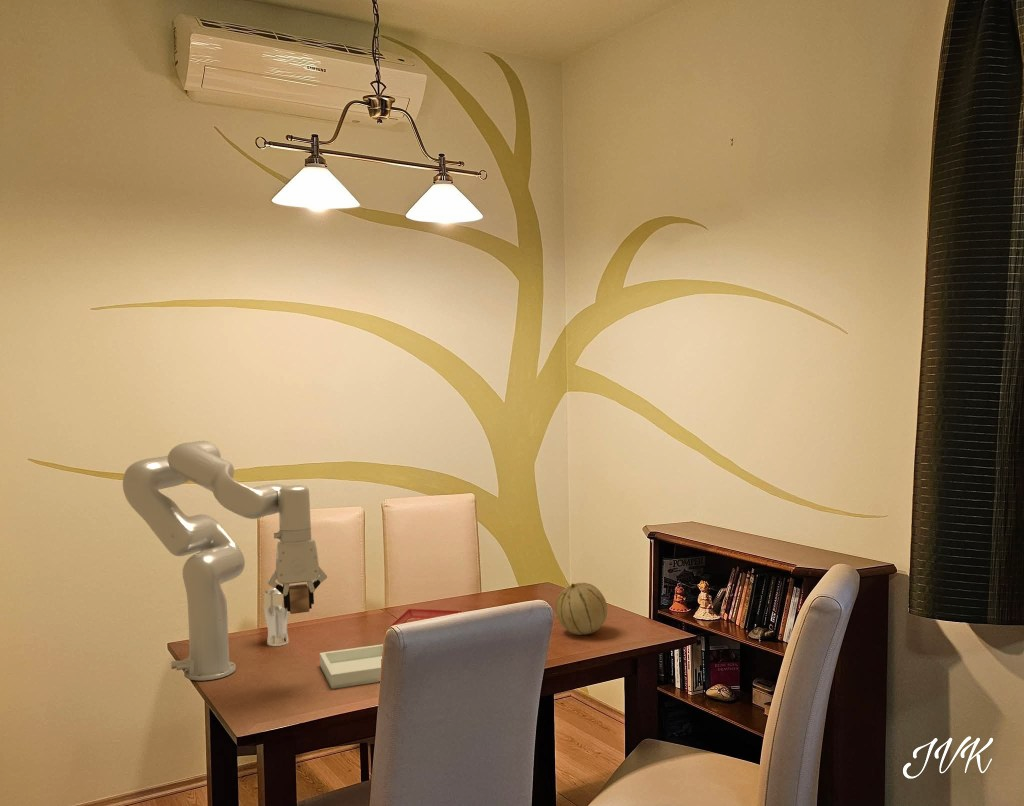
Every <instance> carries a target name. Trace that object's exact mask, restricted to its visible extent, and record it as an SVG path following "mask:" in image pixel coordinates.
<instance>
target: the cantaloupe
mask: <svg viewBox="0 0 1024 806" xmlns="http://www.w3.org/2000/svg"><path fill="white" fill-rule="evenodd" d="M555 611H556V616H557V619H558V621H559V623H560V624H561V626H562V627H563V629H565V630H566V631H567V632H569V633H571V634H573V635H579V636H584V635H589V634H593V633H595V632H597V631H598V630H599V629H600V628H601V627H602V626H603V625H604V623H605V621H606V620H607V615H608V603H607V600H606V599H605V597H604V595H603V593H602V592H601V591H600V590H599V588H597V587H596V586H595V585H593V584H592V583H588V582H576V583H571V584H570V585H568V586H566V587H565V588H564V589H563V590H561V592H560V593H559V595H558V596H557V599H556V603H555Z"/></svg>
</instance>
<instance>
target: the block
mask: <svg viewBox="0 0 1024 806" xmlns="http://www.w3.org/2000/svg"><path fill="white" fill-rule="evenodd" d="M288 592H289V596H290V611H289V614H290V615H294V614H302V613H309V612H310V609H309V590H308V585H307V583H302V584H301V583H298V584H289V590H288Z"/></svg>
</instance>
